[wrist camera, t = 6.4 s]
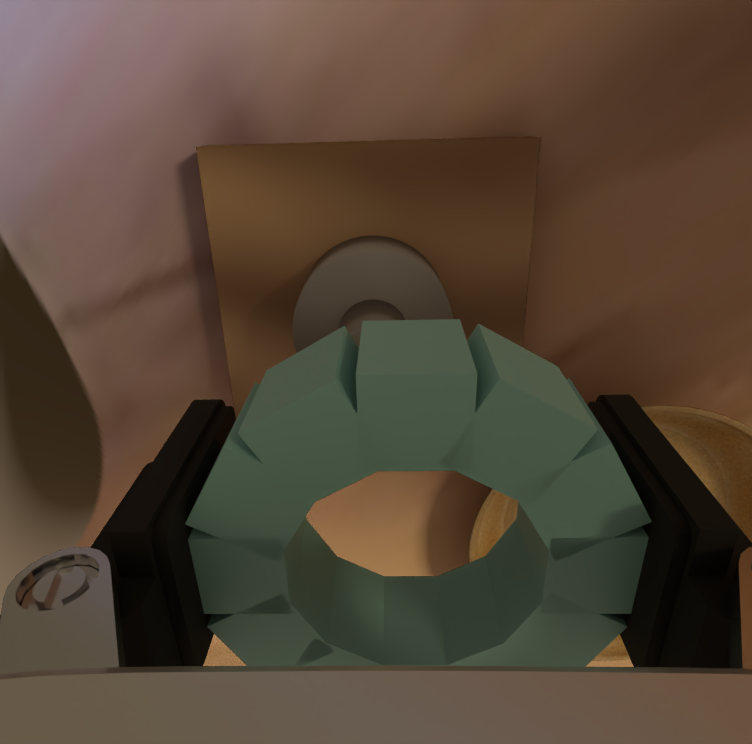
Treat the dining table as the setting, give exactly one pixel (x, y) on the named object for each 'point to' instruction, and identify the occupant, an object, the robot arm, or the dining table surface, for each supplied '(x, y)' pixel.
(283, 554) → the ring
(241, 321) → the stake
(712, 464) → the plant saucer
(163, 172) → the dining table surface
